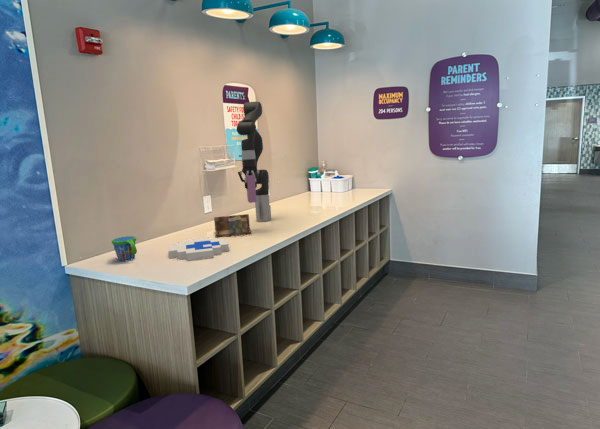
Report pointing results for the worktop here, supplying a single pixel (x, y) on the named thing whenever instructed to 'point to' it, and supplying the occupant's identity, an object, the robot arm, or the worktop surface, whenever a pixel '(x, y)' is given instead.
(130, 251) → the snack cup
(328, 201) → the worktop surface
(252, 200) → the plum book
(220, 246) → the pixel art tile
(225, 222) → the camouflage pattern block
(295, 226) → the worktop surface
